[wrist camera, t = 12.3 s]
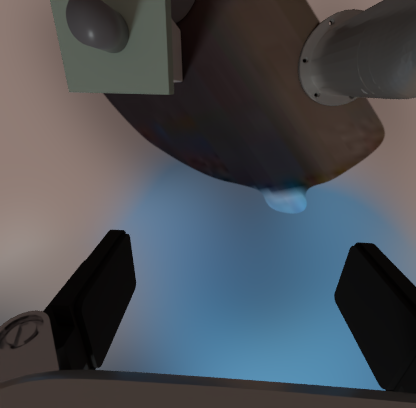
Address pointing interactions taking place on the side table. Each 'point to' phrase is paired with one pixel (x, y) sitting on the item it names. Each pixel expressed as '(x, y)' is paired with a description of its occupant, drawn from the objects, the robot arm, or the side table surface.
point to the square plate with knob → (116, 45)
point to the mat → (180, 9)
